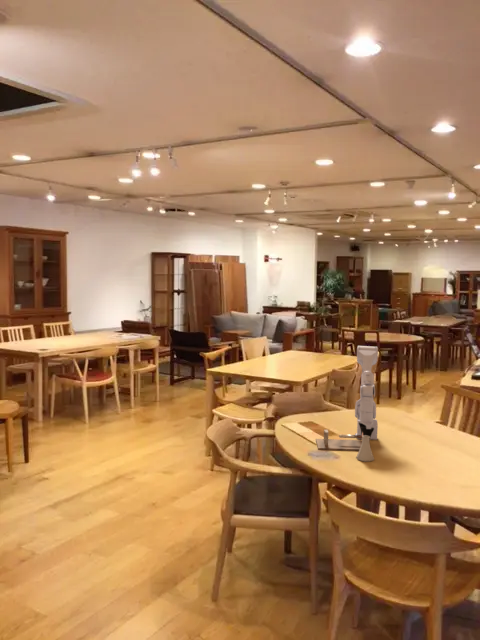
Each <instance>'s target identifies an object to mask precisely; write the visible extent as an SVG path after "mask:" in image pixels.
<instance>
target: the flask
mask: <svg viewBox="0 0 480 640" xmlns="http://www.w3.org/2000/svg"><path fill="white" fill-rule="evenodd" d="M362 438H363V441H362V445H361V447H360V450H359V451H357V452H358V453H357V455H356V456H355V458H356V459H357V460H358V461H361V462H372V461H374V460H375V457H374V454H373V452H372V449H371V444H370V441H369V438H370V436H367V435H364V436H362Z"/></svg>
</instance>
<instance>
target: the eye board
mask: <svg viewBox="0 0 480 640" xmlns="http://www.w3.org/2000/svg"><path fill="white" fill-rule="evenodd" d="M315 443H316V446H317V450H320V451H325V450H326V451H348V452H351V451H352V452H359V450H360V447H361V445H362V439H334V438H333V439H331V438H329V429H323V438H315Z"/></svg>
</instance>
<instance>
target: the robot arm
mask: <svg viewBox="0 0 480 640" xmlns="http://www.w3.org/2000/svg"><path fill="white" fill-rule="evenodd" d="M378 355H379V348H378V346H370V345H368V346H367V345H357V348H356V362H357V364H359V365H360V367H361V375H360V377H361V378H360V386H359V387H360V388H359V397H360V398H359V399H358V400H356V402H355V405H354V406H355V407H354V417H355V418H357V419H356V422H357V427H356V433H355V434H354V435H362V431H363V436H364V435H367V436H370V438H369V442H370V441H371V440H378V427H379V426H378V420H377V419H376V418H377V403H376V402H375V401H374V398H375V397H376V387H375V381H374V379H375V375H374V373H373V372H372V368H373V366H375V365H377V362H378V357H379V356H378ZM356 440H362V438H356Z"/></svg>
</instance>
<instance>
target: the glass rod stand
mask: <svg viewBox="0 0 480 640" xmlns="http://www.w3.org/2000/svg"><path fill="white" fill-rule="evenodd" d="M362 436H363V431H362V435H355V434H339V435H338V437H339V439H340V438H341V439H357V438H362ZM361 440H362V441H363V438H362V439H361Z"/></svg>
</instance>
